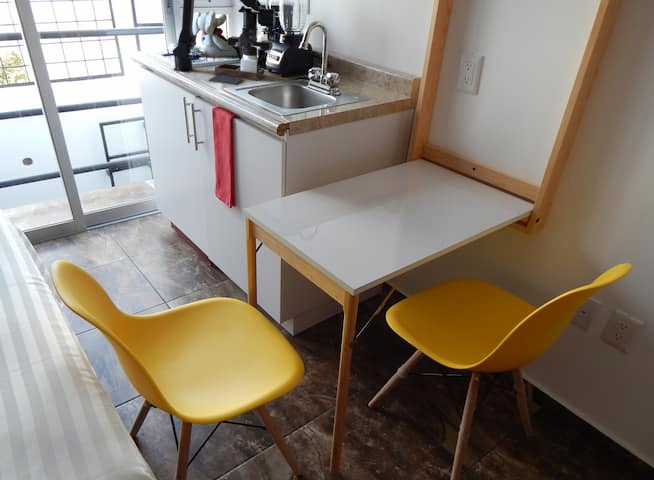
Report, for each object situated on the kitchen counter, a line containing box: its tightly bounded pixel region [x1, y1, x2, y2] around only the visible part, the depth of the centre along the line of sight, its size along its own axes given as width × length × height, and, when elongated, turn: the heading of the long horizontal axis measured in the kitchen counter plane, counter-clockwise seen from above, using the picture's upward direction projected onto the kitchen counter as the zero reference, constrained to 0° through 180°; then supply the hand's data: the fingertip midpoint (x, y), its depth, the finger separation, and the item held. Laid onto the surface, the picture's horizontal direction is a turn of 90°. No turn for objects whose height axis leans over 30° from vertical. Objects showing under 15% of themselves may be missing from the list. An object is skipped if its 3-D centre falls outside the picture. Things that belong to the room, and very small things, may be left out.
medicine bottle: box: [240, 46, 260, 73], centre depth 210 cm, size 7×7×12 cm
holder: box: [214, 63, 265, 81], centre depth 213 cm, size 19×10×3 cm, turn 78°
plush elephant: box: [191, 10, 244, 58], centre depth 239 cm, size 27×22×21 cm
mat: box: [208, 75, 244, 85], centre depth 205 cm, size 12×9×1 cm
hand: (249, 64), depth 210 cm, fingers closed on medicine bottle, 7 cm apart
